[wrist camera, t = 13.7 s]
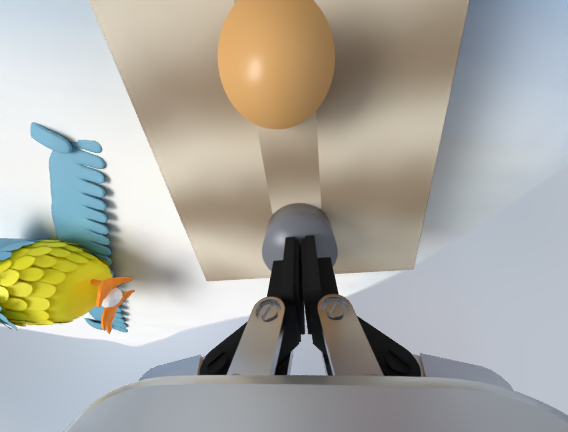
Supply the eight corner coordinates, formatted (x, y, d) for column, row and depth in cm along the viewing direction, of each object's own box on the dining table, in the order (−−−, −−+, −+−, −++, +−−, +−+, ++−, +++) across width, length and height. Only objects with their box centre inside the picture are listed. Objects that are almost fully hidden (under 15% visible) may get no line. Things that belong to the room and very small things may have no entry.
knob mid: (242, 45, 12) (202, -2, 7) (317, 30, 12) (333, -31, 6) (257, 125, 14) (233, 136, 9) (321, 116, 14) (336, 121, 8)
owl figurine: (104, 410, 23) (-37, 379, 22) (153, 335, 31) (50, 309, 30) (27, 182, 10) (-326, 83, 9) (147, 151, 18) (-37, 95, 17)
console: (74, -221, 9) (-131, -524, 5) (457, -370, 7) (693, -1077, 3) (225, 245, 21) (206, 281, 17) (387, 232, 19) (413, 269, 15)
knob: (268, 188, 16) (255, 225, 11) (324, 182, 16) (337, 217, 11) (276, 234, 18) (268, 283, 13) (326, 230, 18) (338, 280, 13)
